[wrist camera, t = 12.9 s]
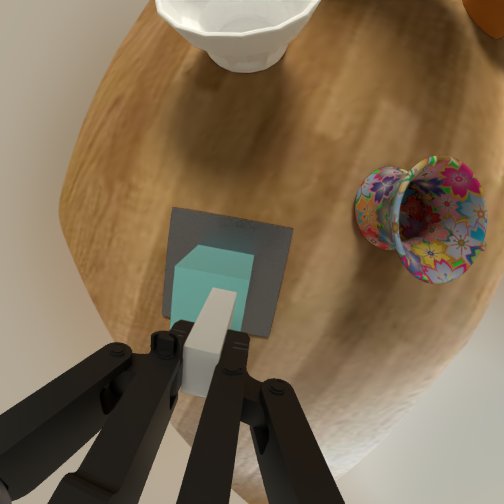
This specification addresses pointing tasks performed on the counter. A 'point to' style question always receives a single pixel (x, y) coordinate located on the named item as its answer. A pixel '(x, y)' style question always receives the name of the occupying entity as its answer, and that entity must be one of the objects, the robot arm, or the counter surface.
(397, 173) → the mug
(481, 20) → the mug
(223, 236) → the grey square tile
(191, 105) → the counter surface
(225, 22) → the cup
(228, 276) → the teal block
